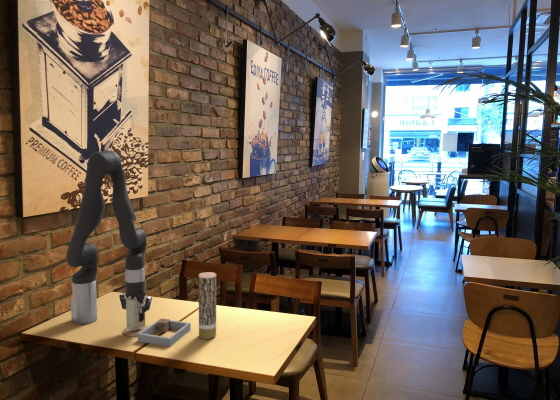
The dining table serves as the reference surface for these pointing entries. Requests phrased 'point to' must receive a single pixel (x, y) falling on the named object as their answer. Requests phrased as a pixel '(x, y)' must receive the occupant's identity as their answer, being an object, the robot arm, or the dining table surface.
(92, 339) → the dining table surface
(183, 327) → the parts bin
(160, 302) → the dining table surface
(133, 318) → the skincare box
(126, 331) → the cork coaster
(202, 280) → the paper tube
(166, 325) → the walnut block
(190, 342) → the dining table surface
